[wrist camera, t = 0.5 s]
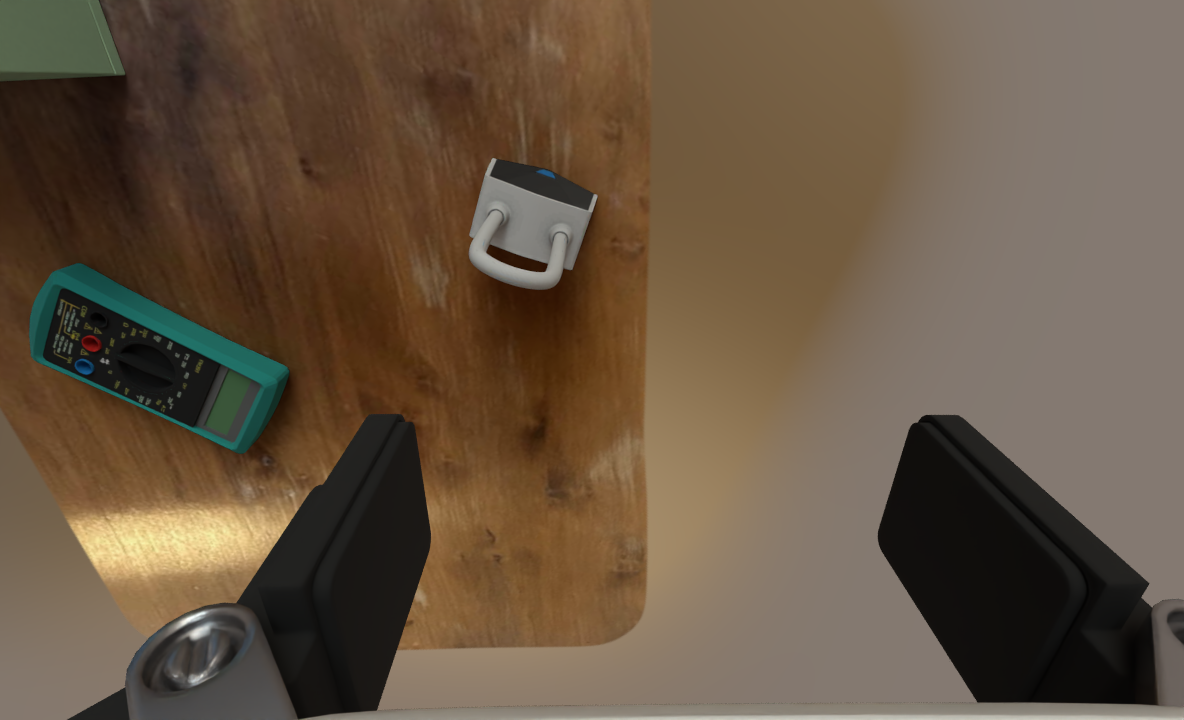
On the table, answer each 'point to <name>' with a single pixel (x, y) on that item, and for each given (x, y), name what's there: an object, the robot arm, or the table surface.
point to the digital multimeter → (153, 357)
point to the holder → (55, 40)
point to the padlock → (529, 222)
